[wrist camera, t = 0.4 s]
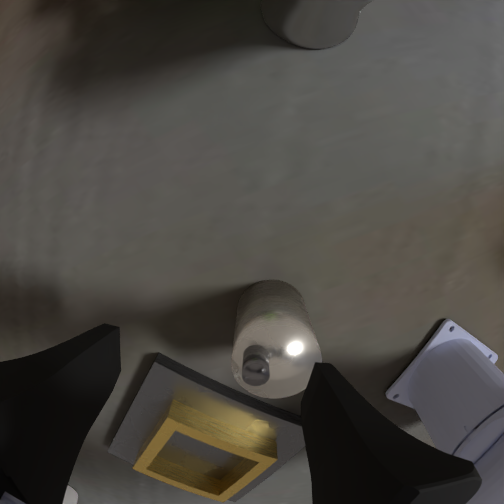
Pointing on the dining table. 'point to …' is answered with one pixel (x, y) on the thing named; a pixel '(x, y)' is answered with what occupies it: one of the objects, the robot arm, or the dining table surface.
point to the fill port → (204, 434)
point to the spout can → (273, 341)
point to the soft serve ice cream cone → (70, 496)
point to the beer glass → (312, 20)
